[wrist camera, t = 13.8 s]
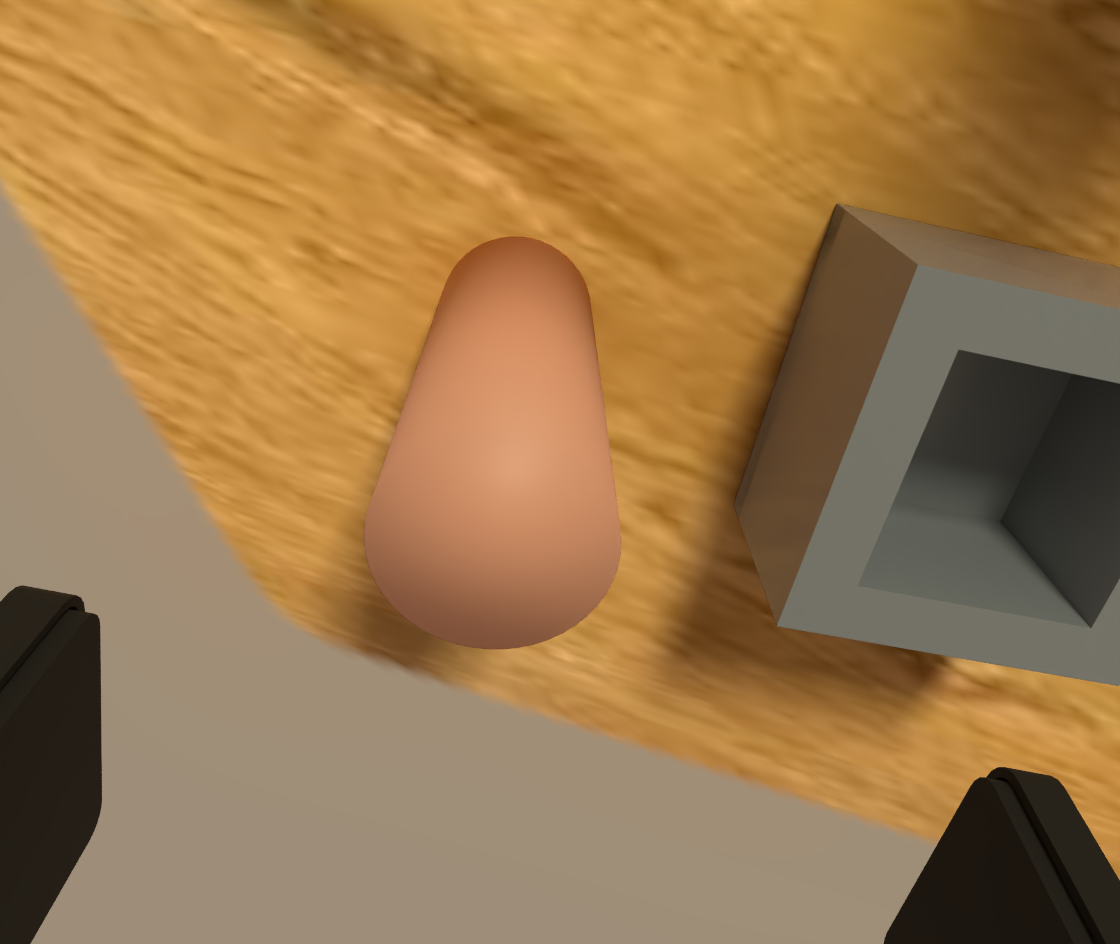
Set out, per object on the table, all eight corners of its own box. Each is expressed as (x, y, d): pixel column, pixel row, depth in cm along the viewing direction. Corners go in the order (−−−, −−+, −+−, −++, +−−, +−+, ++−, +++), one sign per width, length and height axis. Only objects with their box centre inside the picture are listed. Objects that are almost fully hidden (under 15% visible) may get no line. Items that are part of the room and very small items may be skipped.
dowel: (454, 222, 24) (381, 405, 14) (606, 254, 25) (650, 457, 14) (431, 365, 26) (349, 626, 16) (572, 393, 27) (589, 667, 16)
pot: (836, 203, 24) (918, 264, 19) (1158, 275, 25) (1321, 353, 20) (733, 505, 28) (776, 625, 23) (1014, 557, 29) (1118, 685, 24)
